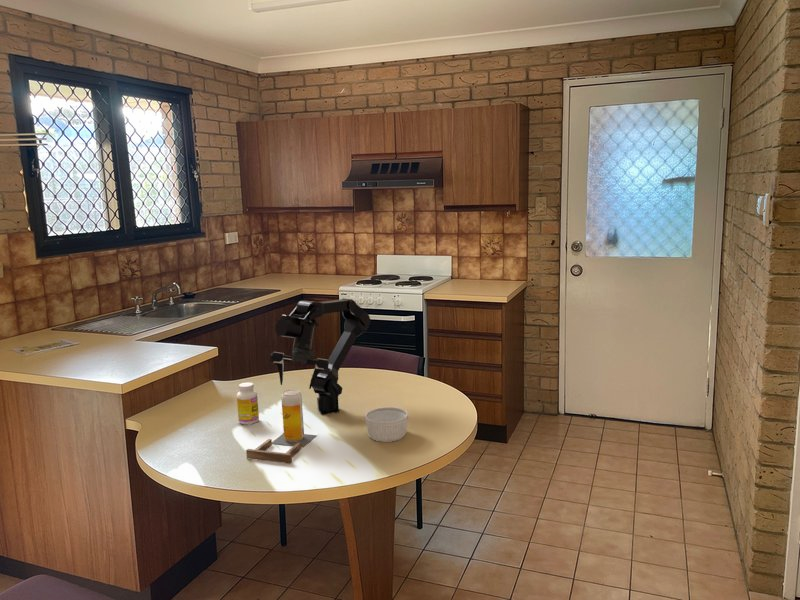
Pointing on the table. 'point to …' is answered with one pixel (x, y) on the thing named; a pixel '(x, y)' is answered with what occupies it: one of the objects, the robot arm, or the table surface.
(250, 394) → the supplement bottle
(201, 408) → the table surface
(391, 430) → the ramekin
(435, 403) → the table surface
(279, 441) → the mat
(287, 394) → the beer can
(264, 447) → the frame
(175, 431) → the table surface
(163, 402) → the table surface
